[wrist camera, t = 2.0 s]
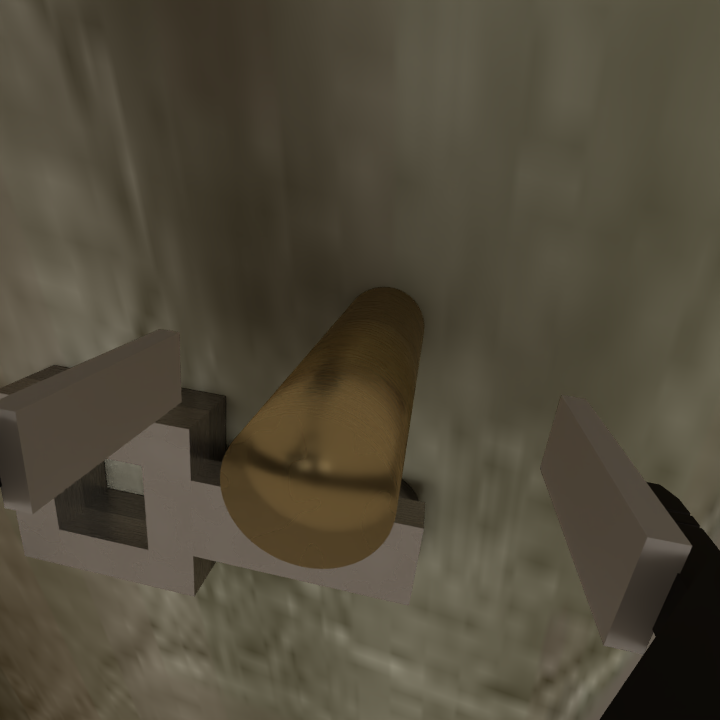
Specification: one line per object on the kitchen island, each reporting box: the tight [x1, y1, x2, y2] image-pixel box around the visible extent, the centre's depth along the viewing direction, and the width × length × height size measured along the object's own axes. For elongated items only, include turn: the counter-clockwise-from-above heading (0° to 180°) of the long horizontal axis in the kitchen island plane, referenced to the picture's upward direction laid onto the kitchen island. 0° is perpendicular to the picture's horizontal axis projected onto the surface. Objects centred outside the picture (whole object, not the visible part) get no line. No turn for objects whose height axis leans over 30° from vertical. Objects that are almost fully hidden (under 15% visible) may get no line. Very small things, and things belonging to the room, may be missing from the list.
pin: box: [220, 287, 424, 569], centre depth 16 cm, size 4×4×14 cm
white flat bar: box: [0, 365, 425, 605], centre depth 27 cm, size 11×35×4 cm, turn 84°
